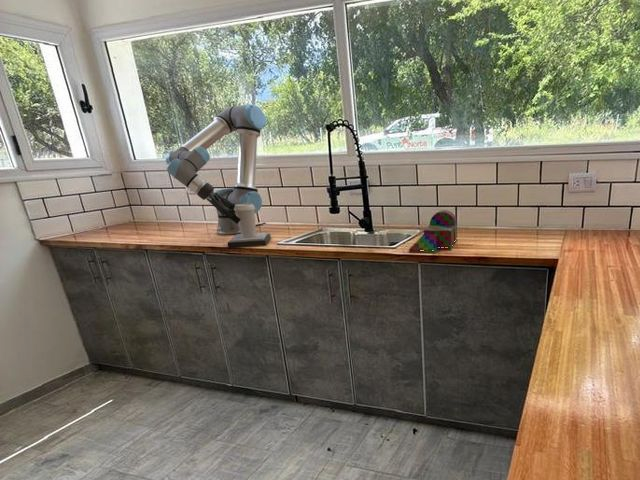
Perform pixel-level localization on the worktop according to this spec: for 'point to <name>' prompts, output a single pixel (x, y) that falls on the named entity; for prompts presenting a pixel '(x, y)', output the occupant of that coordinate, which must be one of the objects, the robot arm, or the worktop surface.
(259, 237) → the kitchen scale
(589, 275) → the worktop surface
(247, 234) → the coffee cup
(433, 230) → the block
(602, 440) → the worktop surface
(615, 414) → the worktop surface
